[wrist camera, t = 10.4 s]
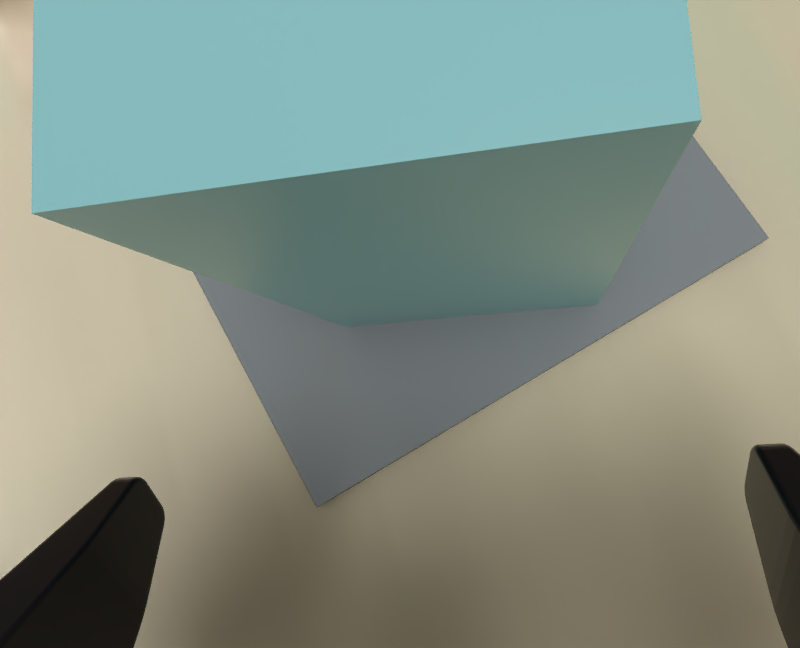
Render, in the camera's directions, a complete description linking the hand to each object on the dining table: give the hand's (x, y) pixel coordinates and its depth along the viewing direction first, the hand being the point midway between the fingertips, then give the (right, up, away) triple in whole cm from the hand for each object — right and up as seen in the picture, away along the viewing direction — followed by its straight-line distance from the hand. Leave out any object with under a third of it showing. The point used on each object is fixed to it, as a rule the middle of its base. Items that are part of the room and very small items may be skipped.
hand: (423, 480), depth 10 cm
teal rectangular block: (+1, +6, +9) cm, 11 cm away
